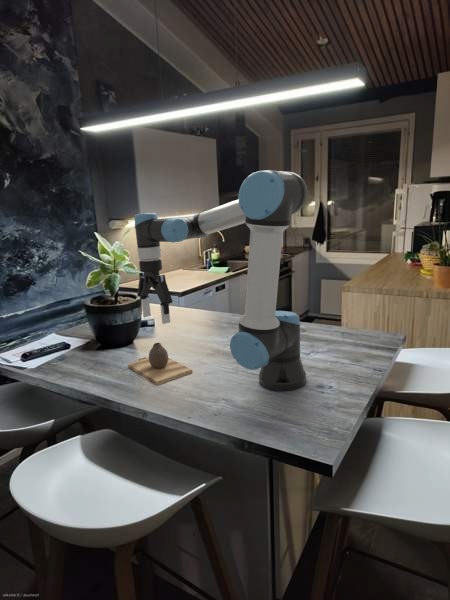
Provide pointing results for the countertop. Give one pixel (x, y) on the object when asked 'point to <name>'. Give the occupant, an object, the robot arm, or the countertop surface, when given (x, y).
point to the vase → (158, 356)
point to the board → (159, 370)
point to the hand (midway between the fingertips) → (156, 319)
